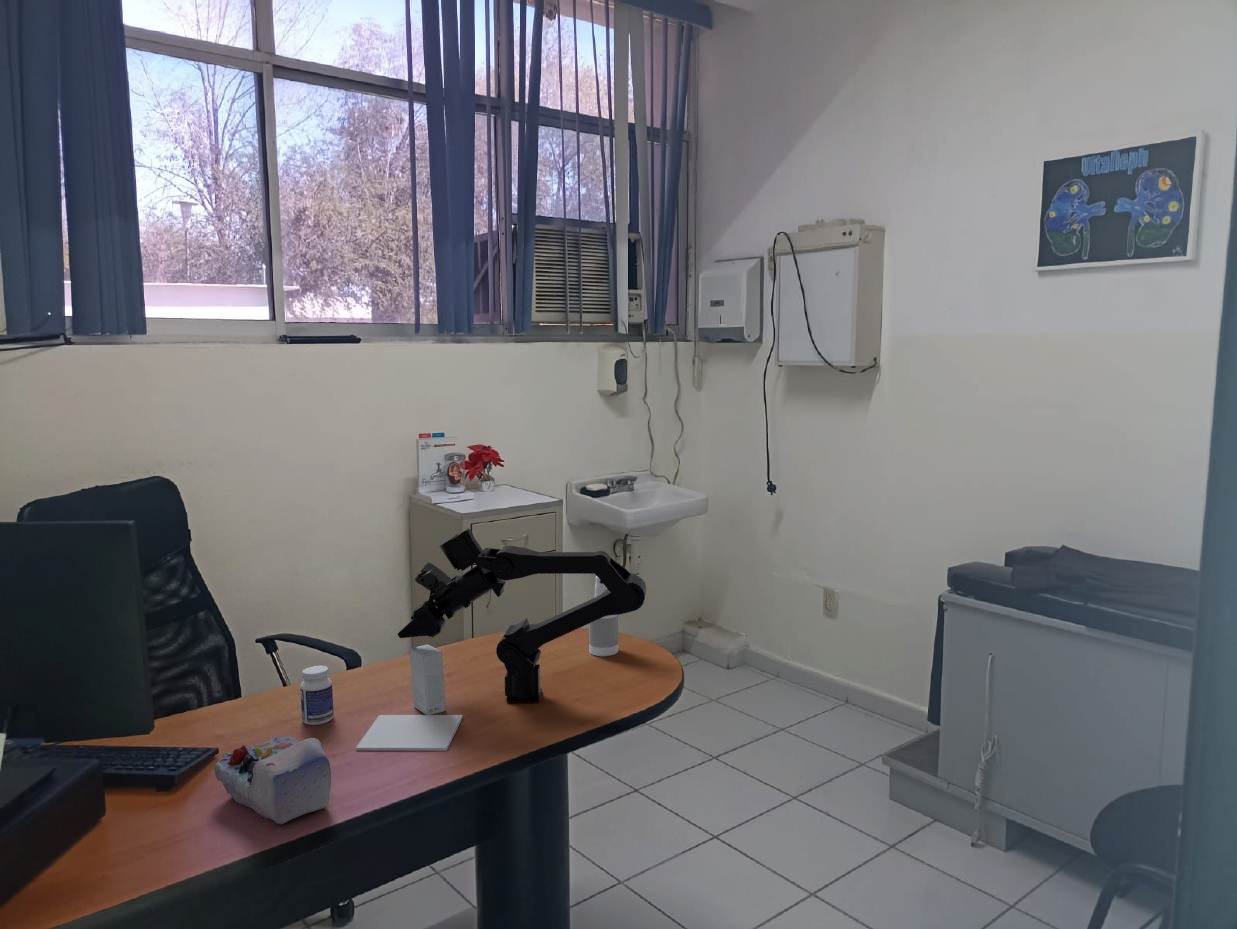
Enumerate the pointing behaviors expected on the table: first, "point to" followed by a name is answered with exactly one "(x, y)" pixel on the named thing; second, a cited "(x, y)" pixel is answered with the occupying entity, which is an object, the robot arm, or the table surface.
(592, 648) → the spray bottle
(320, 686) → the pill bottle
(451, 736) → the mat
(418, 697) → the skincare box
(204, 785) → the table surface
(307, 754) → the cell model
